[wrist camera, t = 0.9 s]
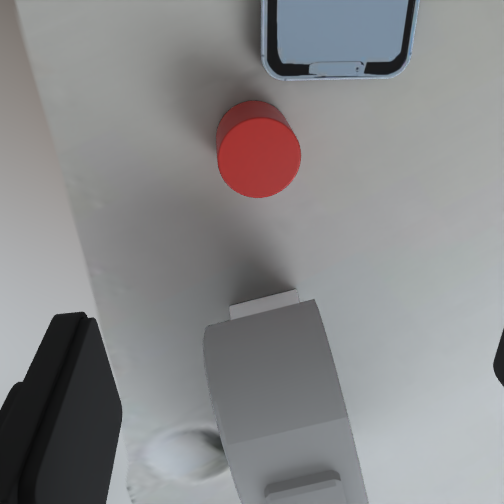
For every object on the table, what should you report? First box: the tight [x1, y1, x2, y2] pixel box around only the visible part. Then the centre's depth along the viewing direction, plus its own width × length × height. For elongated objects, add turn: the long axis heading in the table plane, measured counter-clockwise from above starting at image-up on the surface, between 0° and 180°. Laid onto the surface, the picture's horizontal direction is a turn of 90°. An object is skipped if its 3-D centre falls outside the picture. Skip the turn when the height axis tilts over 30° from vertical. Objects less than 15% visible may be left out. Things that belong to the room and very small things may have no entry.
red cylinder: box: [216, 101, 301, 198], centre depth 22 cm, size 4×4×4 cm
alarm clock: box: [203, 289, 369, 504], centre depth 28 cm, size 23×6×13 cm, turn 14°
